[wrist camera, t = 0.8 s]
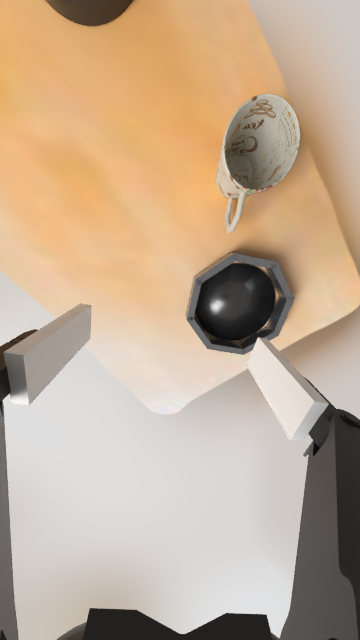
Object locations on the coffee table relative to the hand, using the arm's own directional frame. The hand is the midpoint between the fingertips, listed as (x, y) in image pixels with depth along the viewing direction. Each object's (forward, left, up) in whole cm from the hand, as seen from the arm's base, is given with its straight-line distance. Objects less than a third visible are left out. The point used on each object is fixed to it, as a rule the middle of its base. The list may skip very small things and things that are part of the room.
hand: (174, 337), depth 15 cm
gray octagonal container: (+2, +12, -22) cm, 26 cm away
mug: (-16, +6, -23) cm, 29 cm away
